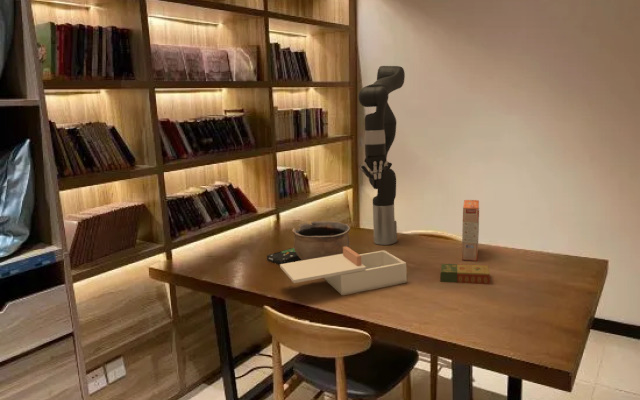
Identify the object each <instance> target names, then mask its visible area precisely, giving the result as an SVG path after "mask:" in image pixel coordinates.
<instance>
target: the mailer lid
mask: <svg viewBox="0 0 640 400" xmlns="http://www.w3.org/2000/svg"><path fill="white" fill-rule="evenodd" d="M279 267H280V269H281V270H282V271H283V272H284V274H285V275H286V276H287V277H288V279H290V280H291V282H292V283H293V284H297V283H302V282H303V283H304V282H308V281H313V280H318V279H323V278H324V279H325V277H330V276H336V275H341V274H346V273H352V272H357V271H363V270H366V267H365V266H364V265H363V264H361V256H360V255H359V253H358V252H356V251H355V250H353V249H351V248H350V246H349V247H347V246H346V247H343V254H338V255H332V256H326V257H320V258H314V259H308V260H303V261H302V260H298V261H295V262H291V263H285V264H280V265H279Z"/></svg>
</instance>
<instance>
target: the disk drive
mask: <svg viewBox="0 0 640 400" xmlns="http://www.w3.org/2000/svg"><path fill="white" fill-rule="evenodd" d="M297 260H298V261H301V260H300V258H299V257H298V255H297V253H296V252H295V249H294V247H291V248H287V249H284V250H281V251H277V252H275V253H270V254H267V255H266V261H267V262H271V263H272V264H275V263H276V265H279V266H280V264H285V263H291V262H294V261H295V262H297Z"/></svg>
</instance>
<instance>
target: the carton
mask: <svg viewBox="0 0 640 400" xmlns="http://www.w3.org/2000/svg"><path fill="white" fill-rule="evenodd" d="M439 275H440V276H439V281H440V282H441V283H459V284H475V285H476V284H479V285H490V284H491V275H490V266H489V265H488V264H459V263H457V264H456V263H455V264H454V263H441V265H440V273H439Z"/></svg>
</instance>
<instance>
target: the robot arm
mask: <svg viewBox="0 0 640 400" xmlns="http://www.w3.org/2000/svg"><path fill="white" fill-rule="evenodd" d="M405 77H406V76H405V70H404V68H403V67H402V66H399V65H381V66H379V67H378V68H377V73H376V80H375V81H374V82H373V83H372V84H367V85H365V86H364V87H362V88H361V89H360V91H359V93H358V102H359V104H360V105H361V106H362V107H364V108H373V107H375V112H371V113H367V114H366V115H365V116H364V155H365V157H364V161H363V163H362V164H360V165H359V166H358V167H359V169H360V170H361V171H362V173H363V174H364V175H365V176H366V177H367V178H368V181H369V184H370V185H371V187H372V188H373V189H374V190H377V194H376V196H374V197H372V216H373V217H372V219H373V220H372V221H373V223H372V224H373V242H374V244H376V245H378V246H379V245H380V246H388V245H389V246H390V245H392V244H396V243H397V242H398V235H397V234H398V230H397V228H398V226H397V220H396V219H395V218H396V217H395V199H396V197H397V175H396V173H395V171H394V170H393V169H392V168H391V167H392V165H393V163H392V162H390V161H388V159H387V158H388V153H389V151H390V149H391V147H392V146H393V143H394V142H395V138H396V134H397V132H396V131H397V119H396V116H395V113H394V112H393V110H392V109H391V107H390V105H389V103H388V101H389V94H391V93H392V92H394V91H396V90H399V89H401V88H402V87H403V86H404V83H405Z"/></svg>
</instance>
